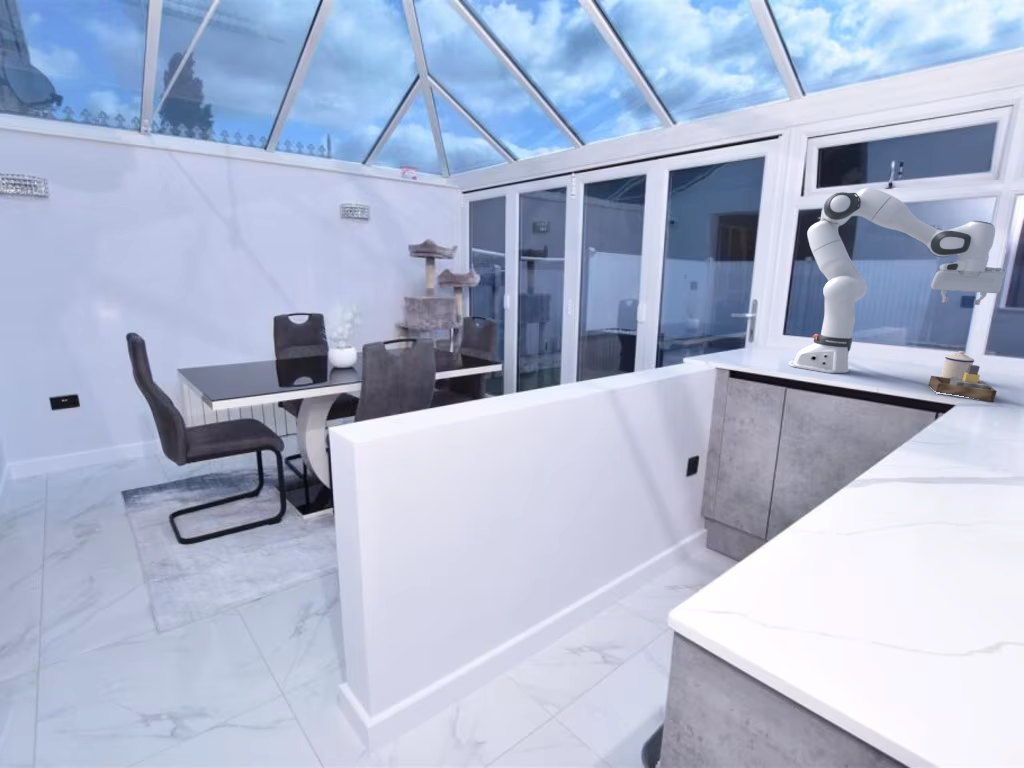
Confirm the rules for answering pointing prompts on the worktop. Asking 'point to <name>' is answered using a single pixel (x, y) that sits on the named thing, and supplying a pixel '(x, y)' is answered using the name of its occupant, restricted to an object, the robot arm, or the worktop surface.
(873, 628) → the worktop surface
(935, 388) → the walled box
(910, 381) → the worktop surface
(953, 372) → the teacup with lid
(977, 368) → the connector
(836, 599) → the worktop surface
